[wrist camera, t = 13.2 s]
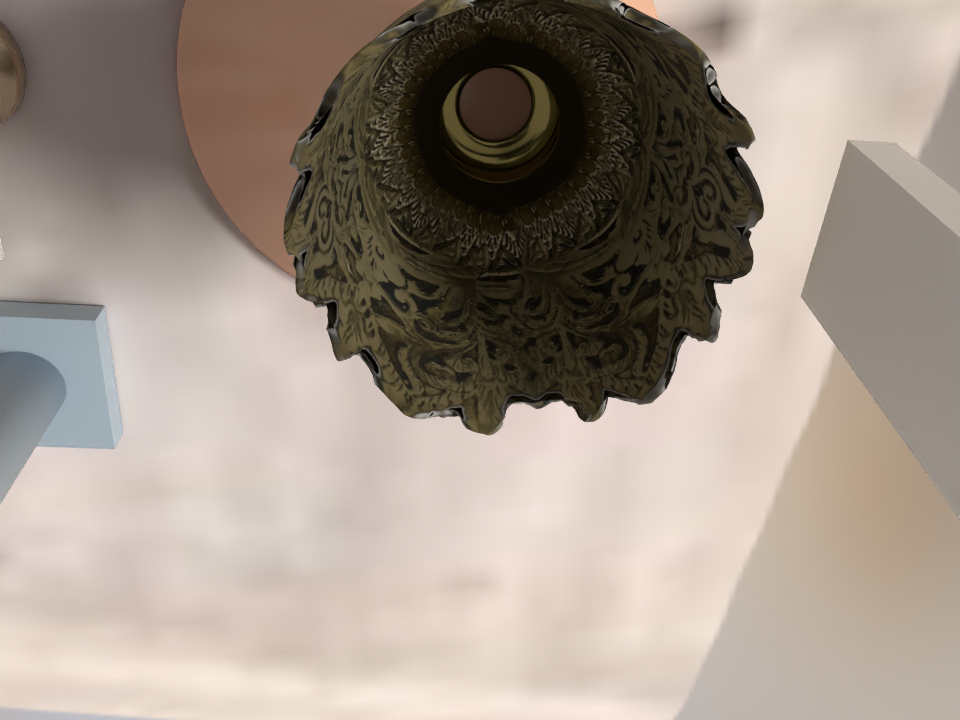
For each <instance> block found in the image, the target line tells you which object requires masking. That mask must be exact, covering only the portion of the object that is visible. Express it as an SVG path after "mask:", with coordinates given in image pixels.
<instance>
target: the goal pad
mask: <svg viewBox="0 0 960 720" xmlns="http://www.w3.org/2000/svg"><path fill="white" fill-rule="evenodd" d="M423 1H425V0H185V3H184V7H183V11H182V15H181V19H180V28H179V36H178V45H177V87H178V93H179V100H180V106H181V113H182V118H183V122H184V125H185V129H186V132H187V136H188V139H189V143H190V146H191V149H192V152H193V154H194V156H195V159H196V161H197V163H198V166H199V168H200V170H201V173H202V175H203V177H204V179H205V181H206V182H207V184H208V186H209V187H210V189H211V191H212V193H213V194H214V196H215V198H216V199H217V201H218V203H219V204H220V206H221V207H222V208H223V210H224V211H225V212H226V214H227V215H228V216H229V218H230V219H231V220H232V222H233V223H234V224H235V226H236V227H237V228H238V229H239V230H240V231H241V232H242V233H243V234H244V235H245V236H246V237H247V238H248V239H249V241H250V242H251V243H252V244H253V245H254V246H255V247H256V248H257V249H258V250H259V251H261V252H262V253H263V254H264V255H266V256H267V257H268V258H269V259H270V260H272V261H273V262H274V263H275V264H277V265H278V266H279V267H280V268H282V269H283V270H285V271H286V272H288V273H289V274H291V275H293V276H294V277H296V270H295V268H294V266H293V264H292V263H293V259H294V256H295V255H290V256H289V255H288V253H287V251H286V248H285V245H284V239H283V233H284V219H285V212H286V207H287V204H288V202H289V199H290V196H291V193H292V190H293V187H294V185H295V183H296V181H297V178H298V176H299V173H298V172H297V170H296V169H295V168H294V167H292V166H289V163H290V158H291V155H292V153H293V150H294V147H295V145H296V142H297V140H298V138H299V137H300V136H301V134H302V133H303V131H304V130H305V129H306V128H307V127H308V126H309V124H310V123H311V121H312V120H313V118H314V116H315V114H316V112H317V110H318V108H319V106H320V103H321V101H322V97H323V95H324V93H325V92H326V90H327V89H328V87H329V86H330V84H331V83H332V81H333V80H334V79H335V77H336V76H337V74H338V73H339V72H340V71H341V69H342V68H343V67H344V66H345V65H346V63H347V62H348V61H349V60H350V59H351V58H352V57H353V56H354V55H355V54H356V53H357V52H358V51H359V50H360V49H362V48H363V47H364V46H365V45H367V44H368V43H370V42H371V41H372V40H374V39H375V38H376V37H377V36H378V35H379V34H380V33H381V32H382V31H383V30H384V29H386V28H387V27H388V26H389V25H390V24H392V23H393V22H394V21H395V20H397V19H398V18H399V17H400V16H401V15H403V14H404V13H406V12H407V11H409V10H410V9H412V8H414V7H415V6H417V5H418V4H420V3H421V2H423ZM619 1H621V2H624V3H625V4H626V5H629V6H631V7H633V8H635V9H637V10H639V11H640V12H642V13H644V14H646V15H648V16H650V17H652V18H655V19H657V20H658V17H657V14H656V10H655V7H654V3H653V0H619ZM530 110H531V97H530V93H529V90H528V88H527V86H526V84H525V83H524V81H523V80H522V79H521V78H520V77H519V76H518V75H516V74H515V73H513V72H511V71H508V70H505V69H500V68H492V69H487V70H484V71H481V72H479V73H478V74H476V75H475V76H473V77H472V78H471V79H470V80H469V81H468V82H467V84H466V85H465V87H464V89H463V91H462V94H461V98H460V112H461V116H462V119H463V121H464V123H465V124H466V126H467V127H468V128H469V129H470V130H471V131H472V132H473V133H474V134H476V135H478V136H480V137H482V138H485V139H489V140H500V139H505V138H508V137H510V136H512V135H514V134H515V133H517V132H518V131H519V130H520V129H521V128H522V127H523V126H524V124H525V123H526V121H527V119H528V117H529V114H530Z"/></svg>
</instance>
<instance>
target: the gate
mask: <svg viewBox="0 0 960 720" xmlns="http://www.w3.org/2000/svg"><path fill="white" fill-rule="evenodd" d="M122 433H123V429H122V422H121V415H120V408H119V401H118V394H117V388H116V381H115V374H114V367H113V360H112V353H111V346H110V339H109V332H108V325H107V318H106V311H105V306H89V305H68V304H47V303H26V302H5V301H0V504H1V502H2V501H3V499H4V497H5V496H6V494H7V493H8V491H9V489H10V488H11V486H12V484H13V483H14V481H15V480H16V478H17V476H18V475H19V473H20V472H21V470H22V468H23V467H24V465H25V463H26V462H27V460H28V459H29V457H30V455H31V454H32V452H33V451H34V449H35V447H36V446H41V447H70V448H98V449H115V447H116V445H117V443H118V441H119V439H120V437H121V435H122Z"/></svg>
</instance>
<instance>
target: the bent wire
mask: <svg viewBox="0 0 960 720" xmlns="http://www.w3.org/2000/svg"><path fill="white" fill-rule="evenodd" d="M25 86H26V72H25V66H24V61H23V58H22V55H21V52H20V50H19V48H18V46H17V44H16V42H15V40H14V39H13V37H12V36H11V34H10V33H9V31H8V30H7V29H6V28H5V26H4V25H3V24H2V23H1V22H0V124H1V123H3V122H4V121H5V120H7V119H8V118H9V117H10V116H11V115H12V114H13V113H14V112H15V111H16V110H17V108H18V107H19V105H20V103H21V101H22V98H23V96H24V92H25Z"/></svg>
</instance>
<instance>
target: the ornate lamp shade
mask: <svg viewBox="0 0 960 720" xmlns="http://www.w3.org/2000/svg"><path fill="white" fill-rule="evenodd" d="M492 68H500V69H505V70H508V71H511V72H513V73H515V74H516V75H518V76H519V77H520V78H521V79H522V80H523V81H524V83H525V84H526V86H527V88H528V90H529V93H530V97H531V110H530V114H529V117H528V119H527V121H526V123H525V124H524V126H523V127H522V128H521V129H520V130H519V131H518V132H517V133H515V134H514V135H512V136H510V137H508V138H505V139H500V140H489V139H485V138H482V137H480V136H478V135H476V134H474V133H473V132H472V131H471V130H470V129H469V128H468V127H467V126H466V124H465V123H464V121H463V119H462V116H461V112H460V98H461V94H462V91H463V89H464V87H465V85H466V84H467V82H468V81H469V80H470V79H471V78H472V77H473V76H475V75H476V74H478V73H479V72H481V71H484V70H487V69H492ZM716 77H717V75H716V71H715V69H714V67H713V66H712V64H711V62H710V60H709V59H708V57H707V56H706V54H705V53H704V52H703V51H702V50H701V49H700V48H699V47H698V46H697V45H696V44H695V43H694V42H692V41H691V40H690V39H689V38H687V37H686V36H684V35H683V34H681V33H680V32H678V31H677V30H675V29H673V28H671V27H670V26H668V25H666V24H664V23H662V22H661V21H659V20H657V19H655V18H652V17H650V16H648V15H646V14H644V13H642V12H640V11H639V10H637V9H635V8H633V7H631V6H629V5H626V4H625V3H624V2H621V1H619V0H425V1H423V2H421V3H420V4H418V5H417V6H415V7H414V8H412V9H410V10H409V11H407V12H406V13H404V14H403V15H401V16H400V17H399V18H398V19H397V20H395V21H394V22H393V23H392V24H390V25H389V26H388V27H387V28H386V29H384V30H383V31H382V32H381V33H380V34H379V35H378V36H377V37H376V38H375V39H374V40H372V41H371V42H370V43H368V44H367V45H365V46H364V47H363V48H362V49H360V50H359V51H358V52H357V53H356V54H355V55H354V56H353V57H352V58H351V59H350V60H349V61H348V62H347V63H346V65H345V66H344V67H343V68H342V69H341V71H340V72H339V73H338V74H337V76H336V77H335V79H334V80H333V81H332V83H331V84H330V86H329V87H328V89H327V90H326V92H325V93H324V95H323V97H322V101H321V103H320V106H319V108H318V110H317V112H316V114H315V116H314V118H313V120H312V121H311V123H310V124H309V126H308V127H307V128H306V129H305V130H304V131H303V133H302V134H301V136H300V137H299V138H298V140H297V142H296V145H295V147H294V150H293V153H292V155H291V158H290V163H289V166H292V167H294V168H295V169H296V170H297V172H298V173H299V176H298V178H297V181H296V183H295V185H294V187H293V190H292V193H291V196H290V199H289V202H288V204H287V207H286V212H285V219H284V233H283V239H284V245H285V248H286V251H287V253H288V255H289V256H290V255H295V256H294V259H293V263H292V264H293V266H294V268H295V270H296V292H297V294H298V295H299V296H300V297H302V298H303V299H305V300H307V301H311V302H313V303H314V305H315V307H316V308H317V307H324V306H327V309H328V314H327V316H328V325H327V328H326V329H327V331H328V334H329V336H330V340H331V343H332V348H333V352H334V355H335V357H336V359H337V360H338V361H343V360H346V359H348V358H350V357H352V356H353V355H359V356H360V357H361V359H362V360H363V361H364V362H365V363H366V365H367V366H368V367H369V369H370V371H371V373H372V375H373V378H374V382H375V385H376V386H377V387H378V388H379V389H380V390H381V391H382V392H383V393H384V394H385V395H386V396H387V397H388V398H389V400H390V401H391V402H393V403H394V404H395V405H396V406H397V407H398V408H399V410H400V411H401V412H402V413H403V414H405V415H406V416H409V417H411V418H417V419H425V418H431V417H437V416H440V417H443V418H444V417H454V416H459V417H460V418H461V420H462V423H463V425H464V426H465V427H466V428H467V429H469V430H471V431H473V432H477V433H481V434H485V435H492V434H494V433H496V432H497V431H498V430H500V429H501V428H502V425H503V420H504V418H505V414H506V410H507V408H508V407H509V406H510V405H511V404H522V403H524V404H527V405H530V406H532V407H534V408H535V409H540V408H542V407H545V406H546V405H548V404H550V403H551V402H558V401H563V402H564V403H566V405H568V406H572V407H573V408H574V409H575V411H576V412H577V415H578V416H579V418H580V419H581V420H583V421H584V422H594V421H596V420H597V419H599V418H600V417H601V416H602V415H603V413H604V411H605V409H606V404H607V401H608V397H612V398H618V399H620V400H623V401H630V402H634V403H637V404H638V405H642V404H649V403H652V402H653V401H654V400H655V399H656V398H657V397H658V396H660V395H661V394H662V393H663V392H664V391H665V390H666V388H667V386H668V384H669V382H670V380H671V377H672V375H673V373H674V370H675V366H676V362H677V355H678V352H679V349H680V347H681V345H682V343H683V342H684V341H685V339H686V337H687V336H690V337H692V338H696V339H697V340H698V341H704V340H706V341H708V342H711V343H713V342H715V341H716V340H717V338H718V332H719V329H720V317H721V311H722V310H721V309H720V306H719V305H718V303H717V300H716V293H715V289H714V282H715V284H716V283H721V284H731V283H732V281H733V279H737V278H740V277H743V276H745V275H747V274H748V273H749V272H750V271H751V269H752V265H753V251H752V248H751V245H750V242H749V238H750V235H751V233H752V232H751V231H750V230H749V229H750V228H752V227H755V225H756V224H757V222H758V221H759V220H760V219H762V217H763V212H764V206H763V200H762V196H761V193H760V189H759V187H758V184H757V182H756V180H755V178H754V176H753V174H752V172H751V170H750V168H749V167H748V165H747V164H746V162H745V161H744V160H743V158H742V157H741V155H740V154H739V152H738V150H737V147H742V148H744V147H745V149H746V150H747V149H748V148H749V146H750V145H751V144H752V143H753V142H754V141H755V136H754V133H753V131H752V128H751V127H750V125H749V123H748V121H747V119H746V117H744V116H743V115H742V114H741V113H740V112H739V111H738V110H737V109H735V108H734V107H733V106H732V105H731V104H730V103H729V102H728V101H727V100H726V99H725V97H724V96H723V95H722V93H721V91H720V89H719V86H718V84H717V79H716ZM509 404H510V405H509Z"/></svg>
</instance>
